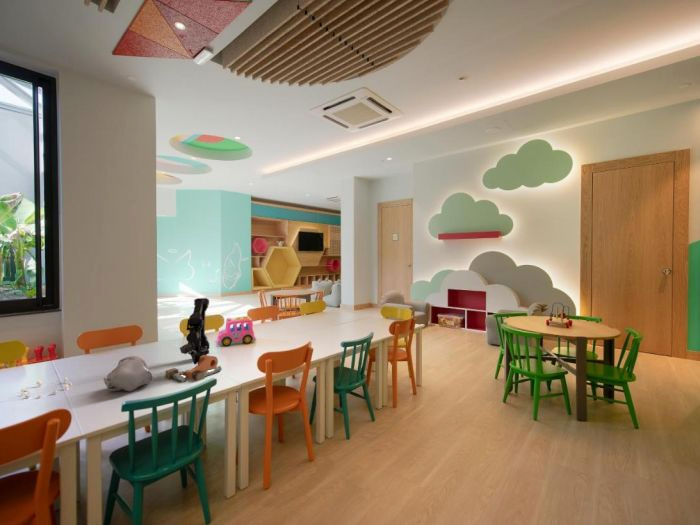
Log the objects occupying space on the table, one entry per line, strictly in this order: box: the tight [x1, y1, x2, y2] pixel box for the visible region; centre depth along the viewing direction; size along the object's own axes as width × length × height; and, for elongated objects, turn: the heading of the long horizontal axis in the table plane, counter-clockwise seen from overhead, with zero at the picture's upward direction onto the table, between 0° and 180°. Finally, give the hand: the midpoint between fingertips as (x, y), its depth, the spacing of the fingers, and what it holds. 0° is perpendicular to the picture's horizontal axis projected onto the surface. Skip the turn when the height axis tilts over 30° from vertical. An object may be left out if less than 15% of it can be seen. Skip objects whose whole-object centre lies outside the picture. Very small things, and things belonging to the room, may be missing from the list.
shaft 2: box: [191, 365, 222, 382], centre depth 185 cm, size 16×5×4 cm, turn 148°
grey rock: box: [103, 355, 153, 392], centre depth 166 cm, size 20×18×15 cm
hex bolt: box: [164, 367, 188, 383], centre depth 179 cm, size 14×5×4 cm, turn 58°
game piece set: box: [18, 377, 73, 399], centre depth 163 cm, size 19×20×4 cm
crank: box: [181, 354, 219, 380], centre depth 190 cm, size 20×8×8 cm, turn 160°
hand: (195, 364), depth 192 cm, fingers closed
